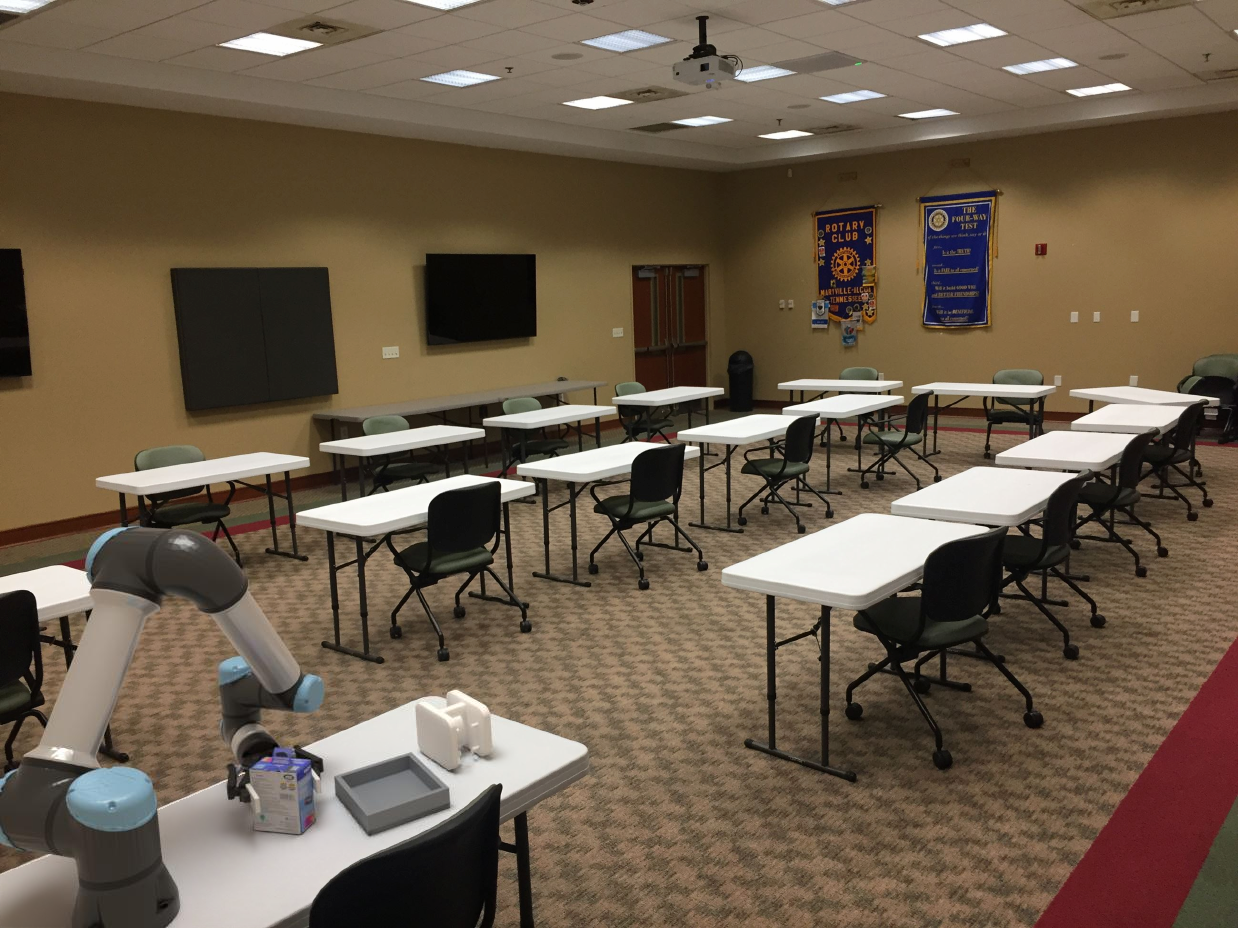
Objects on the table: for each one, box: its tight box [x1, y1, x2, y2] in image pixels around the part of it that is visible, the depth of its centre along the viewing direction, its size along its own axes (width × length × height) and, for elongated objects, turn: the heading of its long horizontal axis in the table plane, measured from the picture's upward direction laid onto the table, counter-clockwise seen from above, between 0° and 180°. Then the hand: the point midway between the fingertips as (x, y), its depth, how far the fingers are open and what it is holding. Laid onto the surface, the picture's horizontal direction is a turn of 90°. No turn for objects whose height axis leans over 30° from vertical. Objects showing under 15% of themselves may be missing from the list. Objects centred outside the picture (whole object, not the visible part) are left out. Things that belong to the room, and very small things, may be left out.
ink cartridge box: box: [249, 747, 316, 835], centre depth 173 cm, size 10×6×14 cm, turn 78°
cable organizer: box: [415, 689, 493, 771], centre depth 199 cm, size 15×11×12 cm
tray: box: [333, 751, 451, 837], centre depth 182 cm, size 16×18×4 cm
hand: (288, 795), depth 170 cm, fingers closed on ink cartridge box, 10 cm apart
